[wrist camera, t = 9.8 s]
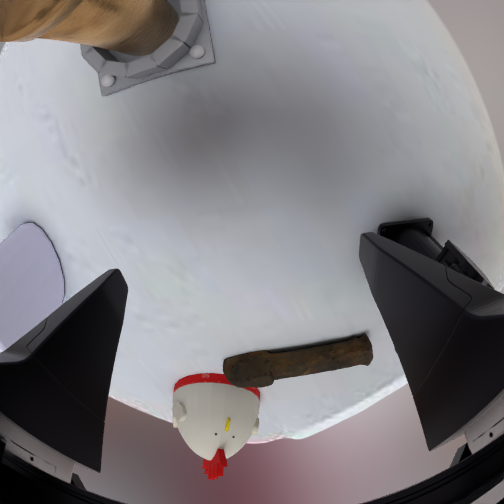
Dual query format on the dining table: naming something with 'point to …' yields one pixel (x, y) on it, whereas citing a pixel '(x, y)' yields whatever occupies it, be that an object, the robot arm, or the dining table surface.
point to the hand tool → (295, 362)
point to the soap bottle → (27, 282)
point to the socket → (157, 52)
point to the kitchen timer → (215, 417)
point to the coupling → (91, 23)
